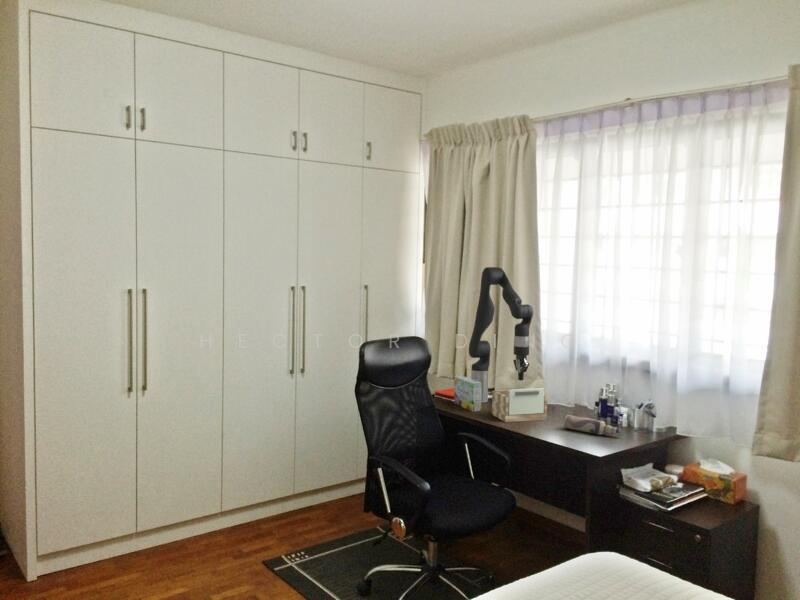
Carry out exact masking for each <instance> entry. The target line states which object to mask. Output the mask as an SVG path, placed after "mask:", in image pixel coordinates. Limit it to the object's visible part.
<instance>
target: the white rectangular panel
mask: <svg viewBox="0 0 800 600" xmlns="http://www.w3.org/2000/svg"><path fill="white" fill-rule="evenodd" d="M507 390H508V397H509V410H508V415H518V414H535V413H544V394H545V388H544V387H540V388H539V387H537V388H534V387H533V388H519V389H518V388H517V389H516V388H515V389H507Z"/></svg>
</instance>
